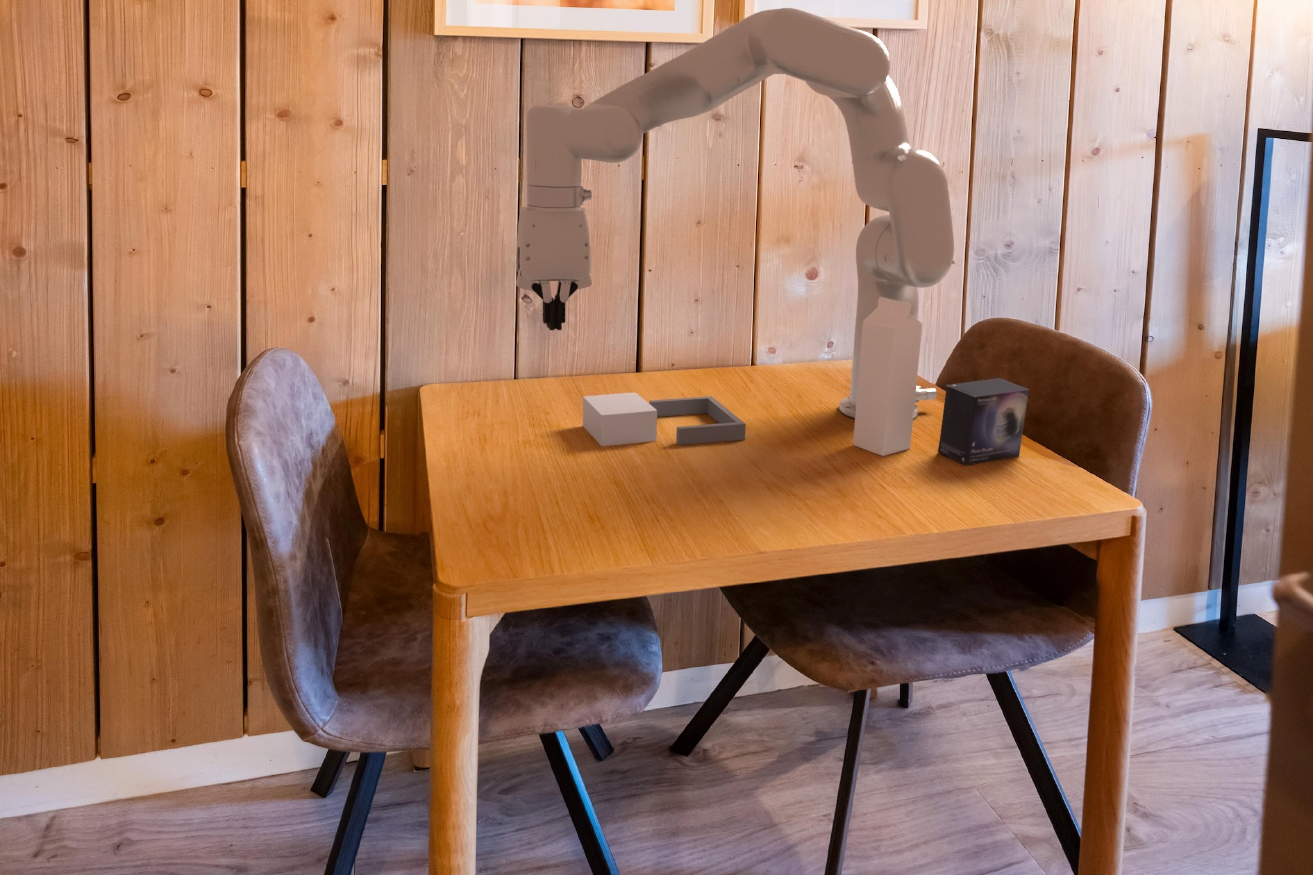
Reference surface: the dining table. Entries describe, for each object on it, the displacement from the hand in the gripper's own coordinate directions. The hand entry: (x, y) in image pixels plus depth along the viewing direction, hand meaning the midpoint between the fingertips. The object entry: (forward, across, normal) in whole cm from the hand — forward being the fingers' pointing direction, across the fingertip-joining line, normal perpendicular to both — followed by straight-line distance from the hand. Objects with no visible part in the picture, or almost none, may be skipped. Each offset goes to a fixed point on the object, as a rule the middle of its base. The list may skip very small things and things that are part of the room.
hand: (553, 328), depth 154 cm
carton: (+17, -10, 0) cm, 20 cm away
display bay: (+16, -22, 0) cm, 28 cm away
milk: (+16, -46, +16) cm, 51 cm away
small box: (+16, -58, +22) cm, 64 cm away
